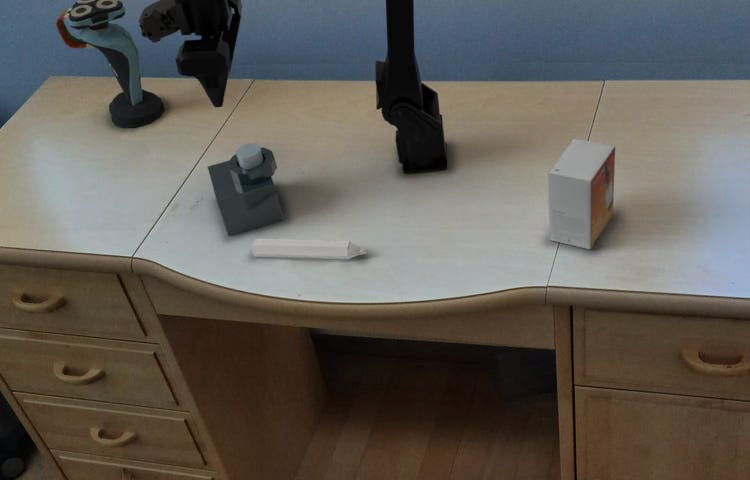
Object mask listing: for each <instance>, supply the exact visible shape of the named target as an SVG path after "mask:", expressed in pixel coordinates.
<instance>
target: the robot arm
mask: <svg viewBox="0 0 750 480" xmlns="http://www.w3.org/2000/svg"><path fill="white" fill-rule="evenodd" d="M414 3H415V2H414V0H385V19H386V20H385V21H386V45H387V48H386V49H387V51H386V56H385V60H384V61H382V60H381V61H380V60H375V64H374V65H375V69H374V70H375V87H376V88H375V97H376V98H375V100H376V102H375V103H376V104H375V105H376V106H375V108H376V110H378V111H379V110H380V109H381V115H382V118H383V120H384V121H385V122H386V123H388V124H389V125H391V126H393V127H395V128H396V129H397V130H395V139H394V140H395V145H396V153H397V159H398V163H399V164H400V165H402V166H401V167H402V169H401V170H402V173H403V174H404V175H406V174H407V175H409V174H417V173H427V172H435V171H436V172H437V171H445V170H448V168H449V161H448V143H447V142H446V136H445V129H444V119H443V114H441V112H440V103H439V93H438V92H437V91H436V90H434V89H433V88H431V87H429V86H428V85H426V84H425V83H424V82H422V79H421V74H420V68H419V64H418V61H417V56H416V52H415V6H414V5H415V4H414ZM242 11H243V5H242V0H156V1H155V2H153V3H151V4H149V5H147V6H145V8H144V9H142V12H141V14H140V17H139V19H138V23H139V25H138V26H139V27H140V30H141V33H140V34H141V36H142V37H143V38H147V40H149V41H151V43H152V44H155V43H158V42H160V41H161V39H164V38H166V37H168V36H170V35H173V34H175V33H177V32H179V31H180V36H191V35H192V34H194V35H195V36H196V37H200V39H186V40H184V41H183V43H182V44H181V45H180V46H179V48H178V52H177V54H176V58H175V64H176V68H177V73H178V75H180V76H183V77H188V78H189V77H193V78H194V79H196V80H197V81H198V83H199V84H200V85H201V87H202V89H203V90H204V93H205V94H206V96H207V97H208V99H209V101H210V102H211V105H212V106H213V107H214V108H223V105H224V100H225V96H226V95H225V94H226V91H227V84H228V80H229V74H230V73H231V70H232V65H233V61H234V54H235V48H236V44H237V39H238V35H239V31H240V25H241V21H242ZM233 12H234V13H233Z"/></svg>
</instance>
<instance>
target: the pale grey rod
mask: <svg viewBox="0 0 750 480" xmlns="http://www.w3.org/2000/svg"><path fill="white" fill-rule="evenodd" d="M251 250H252V255H253V256H255V257H256V258H285V259H314V260H315V259H316V260H317V259H319V260H351V259H353V258H355V257H357V256H360V255H361V256H362V255H365V254H368V253H371V251H370V250H367V249H364V248H362V247H359V246H358V245H356V244H354V243H352V242H351V241H350V240H322V239H321V240H319V239H318V240H317V239H279V238H277V239H276V238H254V240H253V242H252V244H251Z"/></svg>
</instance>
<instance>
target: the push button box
mask: <svg viewBox="0 0 750 480" xmlns="http://www.w3.org/2000/svg"><path fill="white" fill-rule="evenodd" d="M260 148H261V152H262V155H263V159H264V161H263V163H262V164H261V165H259V166H258V167H255V168H251V169H242V168H241V167H240V166H239V162H238V159H237V156H236V153H235V154H233V155H232V156H231V158H230V159H228V160H226V161H222V162H218V163H215V164H212V165H208V166H207V170H208V173H209V178H210V181H211V185H212V188H213V192H214V196H215V200H216V203H217V206H218V209H219V212H220V216H221V218H222V221H223V225H224V227H225V230H226V233H227V236H228V237H232V236H235V235H238V234H242V233H246V232H249V231H252V230H256V229H259V228H262V227H266V226H270V225H273V224H277V223H280V222H284V221H285V218H284V214H283V210H282V207H281V204H280V200H279V196H278V192H277V188H276V186H275V182H274V179H273V176H274V174H275V172H277V171H276V170H277V169H278V165H277V162H276V158H275V156H274V152H273V151H272V150H271V149H269V148H266V147H264V146H263V147H261V146H260Z"/></svg>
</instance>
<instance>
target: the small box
mask: <svg viewBox="0 0 750 480" xmlns="http://www.w3.org/2000/svg"><path fill="white" fill-rule="evenodd" d="M615 159H616V147H615V146H613V145H609V144H605V143H604V144H603V143H599V142H593V141H588V140H582V139H578V138H573V139H572V140H571V141H570V143H569V145H568V147H566V149H565V150H564V152H563V153H562V155H560V157H559V158H558V160H557V161H556V162H555V163H554V165H553V166H552V168H550V170H549V171H548V172H547V188H548V193H547V194H548V226H549V227H548V228H549V240H550V241H553V242H557V243H561V244H565V245H570V246H573V247H578V248H582V249H586V250H591V249H592V248H593V246H594V244H595V242H596V241H597V240H598V238H599V236H600V235H601V233H602V231H603V230H604V228H605V227H606V226H607V224H608V223H609V222H610V220H611V218H612V217H613V215H614V195H615V171H616V170H615V165H616V160H615Z"/></svg>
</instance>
